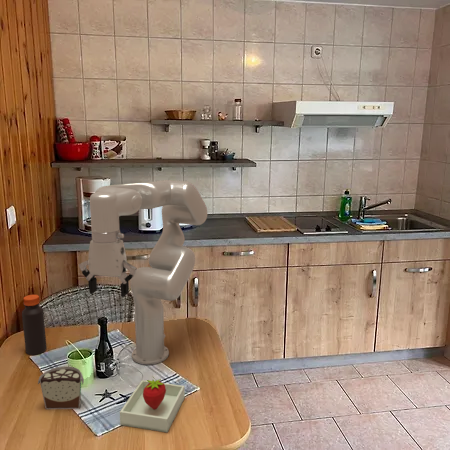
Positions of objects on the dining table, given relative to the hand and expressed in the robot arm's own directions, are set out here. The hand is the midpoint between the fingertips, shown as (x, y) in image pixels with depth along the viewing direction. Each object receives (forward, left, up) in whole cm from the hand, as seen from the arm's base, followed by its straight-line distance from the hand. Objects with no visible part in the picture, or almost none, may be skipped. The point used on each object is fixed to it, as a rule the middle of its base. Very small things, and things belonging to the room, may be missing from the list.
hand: (108, 293), depth 129 cm
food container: (+10, -10, -31) cm, 34 cm away
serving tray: (+8, +16, -30) cm, 35 cm away
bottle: (-14, -36, -31) cm, 49 cm away
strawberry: (+8, +16, -30) cm, 35 cm away
